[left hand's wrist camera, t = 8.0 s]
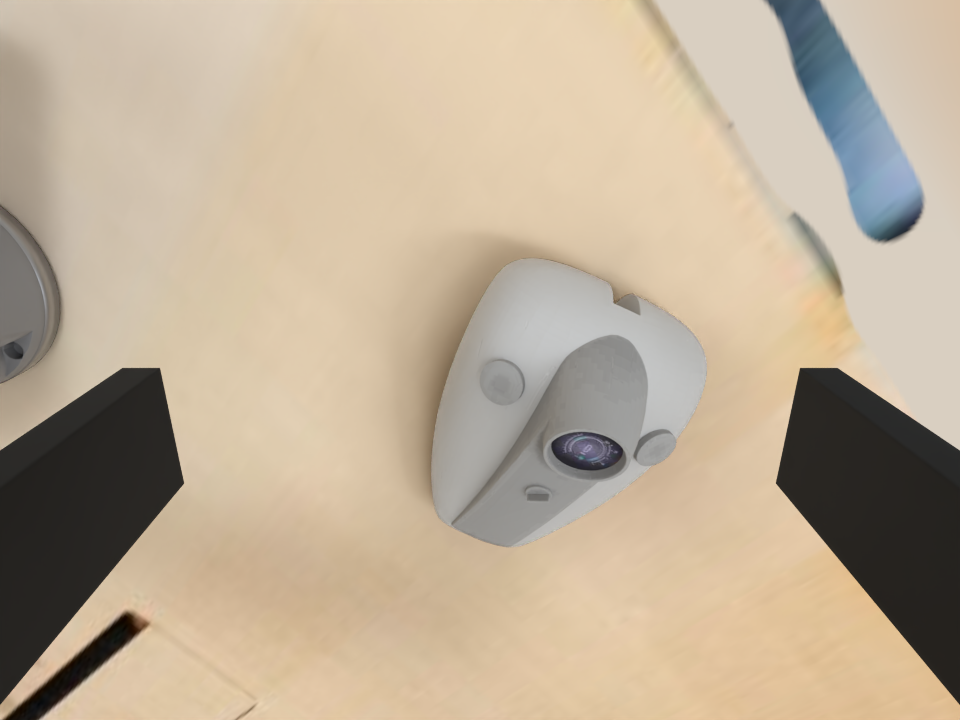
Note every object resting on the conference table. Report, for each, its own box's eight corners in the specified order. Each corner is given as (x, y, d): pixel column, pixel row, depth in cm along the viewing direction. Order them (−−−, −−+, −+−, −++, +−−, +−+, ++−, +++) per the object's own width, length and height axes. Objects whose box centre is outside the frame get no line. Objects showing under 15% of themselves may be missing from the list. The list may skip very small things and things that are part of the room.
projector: (345, 319, 45) (286, 404, 31) (639, 195, 41) (717, 229, 28) (464, 543, 52) (458, 691, 38) (721, 453, 49) (815, 579, 35)
